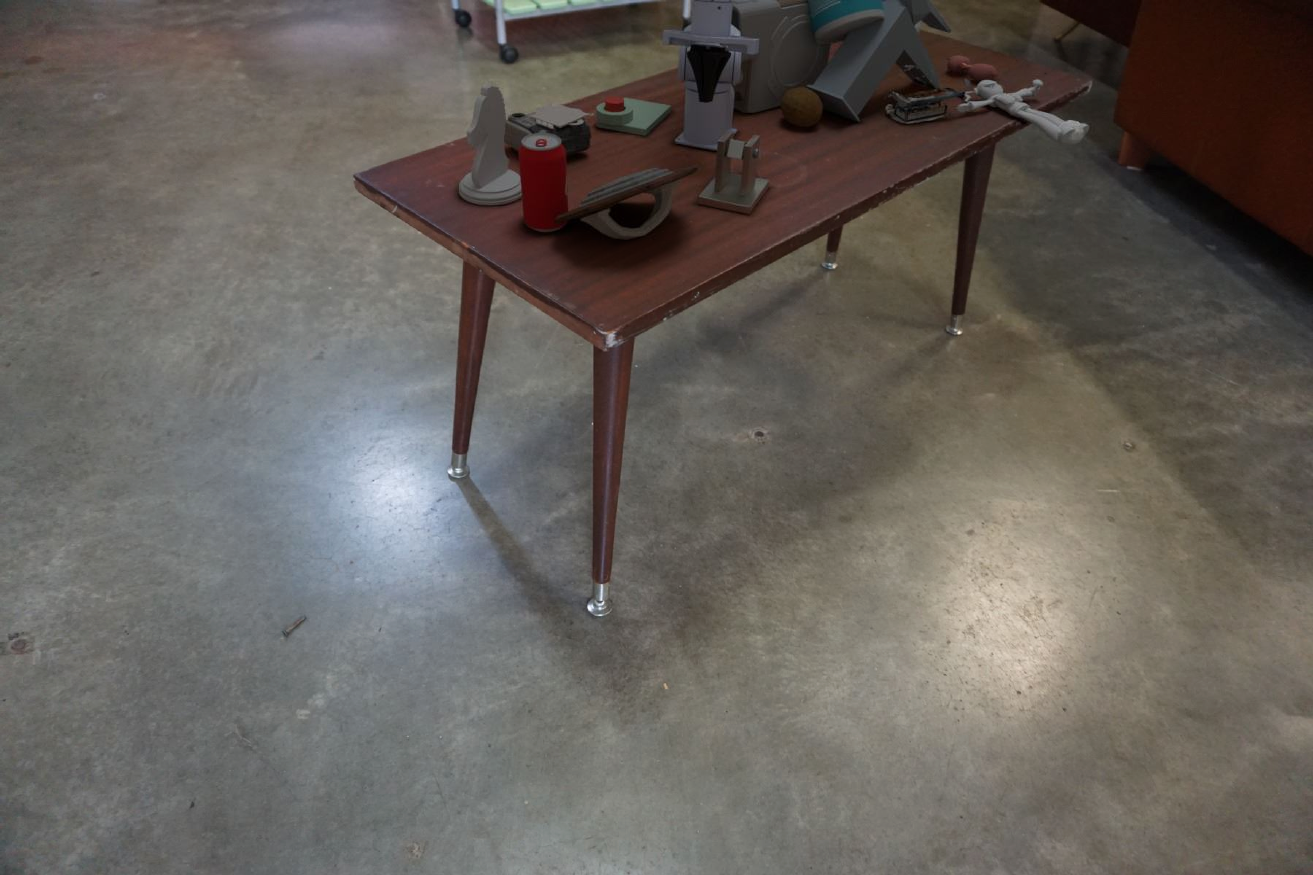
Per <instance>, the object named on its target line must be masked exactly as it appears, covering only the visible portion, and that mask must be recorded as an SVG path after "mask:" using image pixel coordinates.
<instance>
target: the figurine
mask: <svg viewBox="0 0 1313 875" xmlns="http://www.w3.org/2000/svg"><path fill="white" fill-rule="evenodd" d="M946 60H947V61H948V62H947V69H948V71H949V73H950V74H952V73H953V74H955V75H959V74H962V73H963V74H964V73H966V72H967V71H968V70H969V72H968V76H969V78H970V79H972V80H973V81H975V82H979V83H980V82H981V81H983V80H992V81H994V80H995V78H996V77H997V76H999V70H997V69H996V67H994V65H991V64H988V63H975V64H973V63H972V62H971V60H970V59H969V58H968V57H967V56H965V55H960V54H959V55H953V56H947V57H946Z"/></svg>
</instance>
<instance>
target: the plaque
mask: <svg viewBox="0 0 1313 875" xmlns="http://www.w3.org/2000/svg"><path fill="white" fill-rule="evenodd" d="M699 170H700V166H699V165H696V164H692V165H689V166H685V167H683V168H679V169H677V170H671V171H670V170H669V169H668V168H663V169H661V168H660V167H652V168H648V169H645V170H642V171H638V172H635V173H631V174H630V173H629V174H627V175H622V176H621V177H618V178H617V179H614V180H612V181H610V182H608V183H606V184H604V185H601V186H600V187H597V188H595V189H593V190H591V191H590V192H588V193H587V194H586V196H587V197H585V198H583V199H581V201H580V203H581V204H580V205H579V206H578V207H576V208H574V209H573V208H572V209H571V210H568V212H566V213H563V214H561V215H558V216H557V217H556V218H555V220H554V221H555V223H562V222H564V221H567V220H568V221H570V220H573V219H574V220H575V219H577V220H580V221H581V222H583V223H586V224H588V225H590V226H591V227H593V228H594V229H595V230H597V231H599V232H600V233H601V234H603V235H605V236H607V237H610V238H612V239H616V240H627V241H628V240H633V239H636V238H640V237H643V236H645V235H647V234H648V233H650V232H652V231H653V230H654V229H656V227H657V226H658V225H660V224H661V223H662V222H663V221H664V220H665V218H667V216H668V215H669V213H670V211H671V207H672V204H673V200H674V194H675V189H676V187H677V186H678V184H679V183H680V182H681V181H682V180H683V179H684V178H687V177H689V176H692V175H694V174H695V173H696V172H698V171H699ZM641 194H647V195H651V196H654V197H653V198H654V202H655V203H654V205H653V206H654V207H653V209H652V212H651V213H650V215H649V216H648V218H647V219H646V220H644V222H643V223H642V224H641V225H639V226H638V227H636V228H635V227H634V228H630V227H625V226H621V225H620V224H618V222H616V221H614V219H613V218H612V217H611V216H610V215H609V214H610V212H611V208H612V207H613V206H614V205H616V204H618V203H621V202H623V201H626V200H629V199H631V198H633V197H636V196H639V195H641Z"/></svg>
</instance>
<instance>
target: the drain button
mask: <svg viewBox="0 0 1313 875" xmlns="http://www.w3.org/2000/svg"><path fill="white" fill-rule="evenodd" d="M623 98H624V97H623ZM623 98H622V97H620V96H609V97H606V98H605V99H604V103H605V110H606V111H608V112H621V111H624V99H623Z"/></svg>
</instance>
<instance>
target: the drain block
mask: <svg viewBox="0 0 1313 875" xmlns="http://www.w3.org/2000/svg"><path fill="white" fill-rule="evenodd" d="M623 99H624V111H621V112H608V111H606V110H605V102H601V103H599V104H597V105H596V107H595V114H596V116H595V117H596V128H600V129H605V130H612V131H617V132H621V133H627V134H632V135H638V136H644V137H646V136H647V135H648V134H650V133H651V132H652V131H653V129H655V128H656V127H657V126H658V125H659V124H660V123H661V122H662V121H663V120H664V119H666V118H667V117H668V115H670V114H671V112H672V105H669V104H664V103H658V102H653V101H646V100H642V99H637V98H636V99H635V98H631V97H623Z"/></svg>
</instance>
